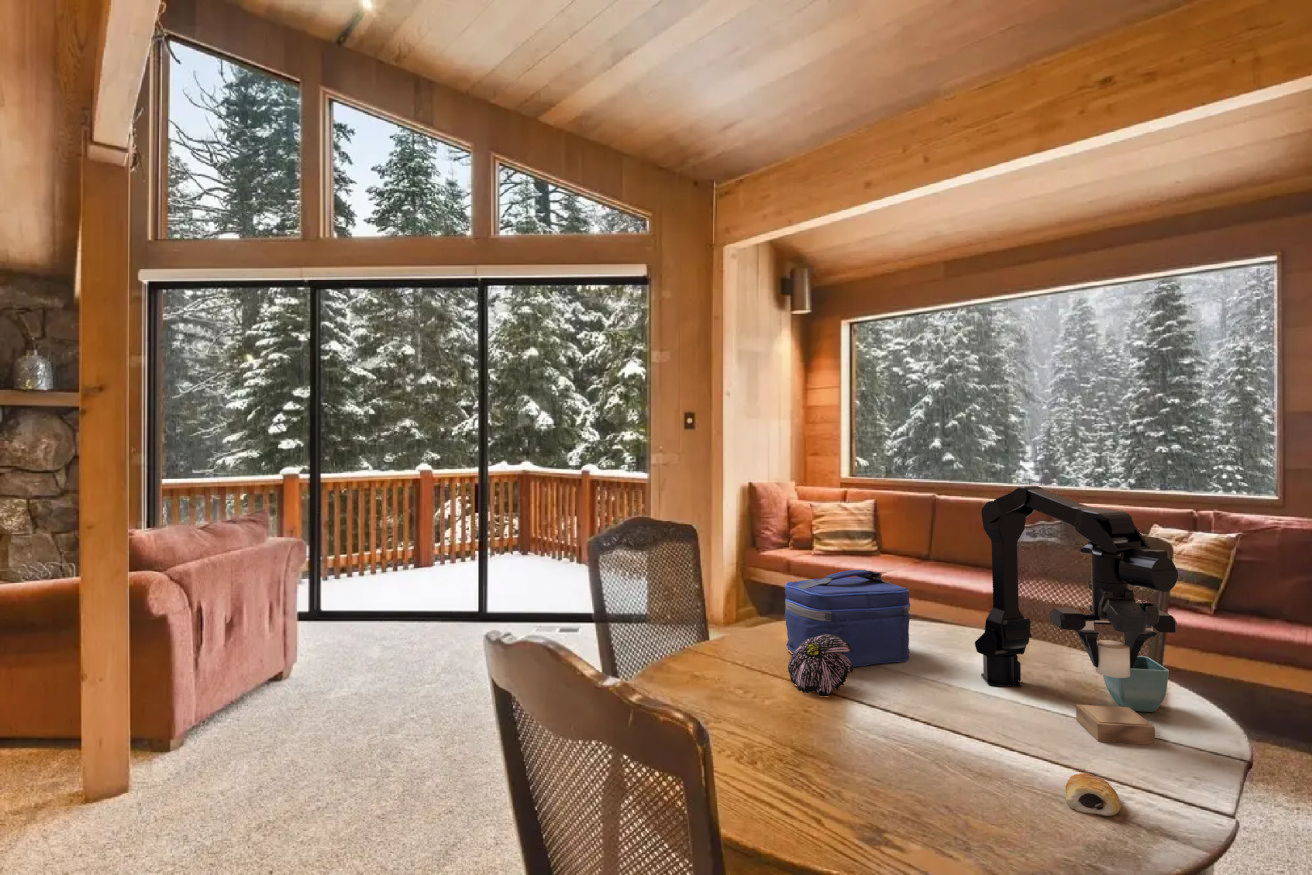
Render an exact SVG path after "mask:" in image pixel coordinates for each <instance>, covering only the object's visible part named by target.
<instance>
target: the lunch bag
mask: <svg viewBox="0 0 1312 875" xmlns="http://www.w3.org/2000/svg"><path fill="white" fill-rule="evenodd" d="M784 585H785V586H784V587H785V588H784V593H785V600H784V601H785V603H784V604H785V612H784V619H785V626H786V633H787V642H786V647H787V648H788V650H790V651H791V652H792V653H794V652H795V651H796V649H798V648H799V646H800V645H801V643H803V642H804V641H805V640H806V639H808V638H812V637H818V636H821V635H826V634H832V635H837V636H839V637H841V638H843V639H844V640H846V641H847V643H849V644H850V647H851V649H852V650H853V651H851V652H842V653H843V654H845V655H846V656H847V658H848V659H849V660H850V661H851V663H852V665H853V668H854V667H866V666H870V665H877V664H885V663H902V662H908V661H909V659H910V649H909V648H910V647H909V644H910V634H909V631H910V630H909V629H910V619H911V618H910V613H909V612H910V608H911V603H910V592H909V589H908V588H907V587H904V586H900V585H897V584H893V583H890V582H888V581H885V580H883V579H882V574H881V573H880V572H878V571H872V570H868V569H867V570H866V569H853V570H845V571H844V570H843V571H839V572H835V573H832V574H829V575H826V576H825V577H824V578H812V579H805V580H799V581H796V580H795V581H788V582H786V583H785V584H784ZM788 650H787V651H788Z"/></svg>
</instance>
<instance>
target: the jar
mask: <svg viewBox="0 0 1312 875" xmlns="http://www.w3.org/2000/svg"><path fill="white" fill-rule="evenodd" d="M1097 648H1098V658H1099V662H1098V667H1095V672H1096V673H1098V674H1100V675H1101V676H1103V675H1105V676H1109V677H1115V678H1127V677H1130V647H1129V646H1128V645H1126V644H1125V642H1122V641H1118V640H1113V639H1112V640H1110V639H1104V640H1103V639H1102V640H1101V639H1099V640H1097Z"/></svg>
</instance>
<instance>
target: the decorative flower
mask: <svg viewBox="0 0 1312 875" xmlns="http://www.w3.org/2000/svg"><path fill="white" fill-rule="evenodd" d="M851 651H853V650H852V649H851V647H850V644H849V643H847V641H846V640H844V639H843V638H841V637H839V636H837V635H832V634H826V635H821V636H818V637H812V638H808V639H806V640H805V641H804V642H803V643H801V645H800V646H799V648H798V649H796V651H795V652H794V653H793V655H792V654H791V656H790V658H789V661H788V665H787V670H788V673H789V677H790V682H791V683H792V684H793V683H794V684H796V685H797V691H798V690H799V691H798V692H802V693H803V694H805V693H807V694H808V693H809V692H810V693H813V692H815V694H818V697H819V696H829V697H830V696H831V695H832V692H833V688H834V689H836V690H837V691H838V690H839V688H840V687H841V686H844V685H845V682H847V680H846V679H847V678H848V676H849V674H853V672H854V667H853V665H852V663H851V661H850V660H849V659H848V658H847V656H846V655H845V654H843V653H842V652H851ZM794 684H793V685H794Z"/></svg>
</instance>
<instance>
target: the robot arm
mask: <svg viewBox="0 0 1312 875" xmlns="http://www.w3.org/2000/svg"><path fill="white" fill-rule="evenodd" d="M1036 511H1037V512H1038V513H1042V514H1044V515H1045V516H1047V517H1051V518H1053V519H1056V520H1058V521H1061V522H1062V523H1065V524H1067V525H1070V526H1072V527H1073V528H1074V529H1075V531H1076V532H1077V534H1079V536H1081V537H1083V538H1085V539H1086V540H1088V543H1087V544H1085V545H1084V546H1082V547H1081V548H1080V549H1079V551H1080V553H1081V554H1082V553H1084V554H1088V555H1090V563H1091V564H1090V566H1091V567H1090V568H1091V582H1088V589H1090V590H1091V602H1092V603H1091V604H1089V611H1090V612H1092V613H1085V612H1084V613H1083V612H1081V611H1080V610H1078V609H1076V608H1075V607H1053V608H1052V609H1051V610H1050V612H1049V622H1050V623H1051V624H1053V625H1054V626H1056V627H1057V628H1059V629H1061V630H1065V631H1066V630H1067V631H1074V632H1076V633H1077V635H1078V637H1079V638H1080V640H1081V642H1082V644H1083V646H1084V649H1085V650H1086V652H1087V654H1088V656H1089V659H1090V661H1091V663H1092V665H1093V667H1095V668H1096V667H1098V662H1099V658H1098V648H1097V642H1098V637H1099V634H1100V633H1099V632H1098V631H1096V630H1095V625H1106V626H1107V625H1109V626H1112V628H1113V629H1114V631H1116V632H1118V633H1123V636H1124V643H1125V644H1126V645H1128V646H1129V647H1130V669H1132V668H1133V666H1134V663H1135V661H1136V658H1137V656H1139V653H1140V651H1141V649H1142V647H1143V645H1144V644H1145V642H1146V641H1147V640H1149V639H1150V638H1152V637H1155V638H1156V637H1157V636H1158V633H1172V634H1174V633H1178V622H1177V620H1176V618H1175V617H1174V616H1173V615H1172V614H1170V613H1167V612H1165V611H1162V610H1161V609H1159V606H1158V605H1157V604H1156V603H1155V602H1137V601H1136V598H1135V593H1134V589H1132V588H1130V586H1133V587H1138V588H1143V589H1148V590H1153V591H1158V592H1163V593H1167V592H1170V591H1171V590H1173V588H1174V587H1176V584H1177V582H1178V579H1179V578H1178V576H1179V571H1178V569H1177V568H1176V565H1175V563H1174V562H1173V561H1172V559H1170V558H1169V557H1168V551H1167V550H1162V549H1151V547H1150V545H1149V544H1148V542H1147V541H1146V539H1145V538H1144V536H1143V535H1142V533H1140V531H1139V529H1138V528H1137V526H1136V525H1135V523H1134V521H1133V519H1132V516H1131V515H1130V514H1129V513H1128V512H1125V511H1123V510H1117V509H1113V508H1104V507H1103V508H1102V507H1094V506H1088V505H1085V504H1082V503H1080V502H1078V501H1075V500H1073V499H1069V498H1067V497H1064V496H1062V495H1059V494H1056V493H1054V492H1051V491H1048V490H1046V489H1044V488H1042V487H1040V486H1039V485H1026V486H1023V485H1022V486H1019V487H1017V488H1015V489H1014V490H1012V491H1011V492H1009V493H1007V494H1005V495H1002V496H1000V497H998V498H996V499H994V500H989V501H987V502H985V504H984V505H983V506H982V507H981V520H982V527H983V530H984V532H985V534H987V537H989V540H990V542H991V568H992V569H991V571H992V572H991V573H992V576H991V577H992V579H991V580H992V608H991V610H990V611H989V614H988V615H987V617H986V619H985V624H984V632H983V633H982V634H981V635H980V636H979V637H978V638H977V639H976V640H975V641H974V646H975V650H976V653H979V654H981V655H982V659H983V660H982V661H983V662H982V664H983V665H982V667H983V669H982V670H983V672H982V673H980V675H981V677H982V679H983V680H984V681H985V682H986V683H987V685H988V686H997V687H998V686H999V687H1020V688H1021V687H1022V684H1021V681H1022V677H1021V676H1022V672H1021V671H1022V670H1021V665H1022V664H1021V662H1020V661H1019V655H1025V654H1024V653H1025V651H1026V648H1027V646H1028V645H1029V642H1030V638H1032V633H1031V623H1032V622H1031V619H1030V618H1029V617H1027V618H1026V617H1025V616H1024V615H1023V613H1022V612H1021V610H1020V604H1019V603H1020V602H1019V600H1020V598H1019V564H1018V541H1019V539H1020V538H1021V536H1022V535H1023V533H1024V531H1025V528H1026V520H1027V518H1028V517H1030V516H1031V515H1033V514H1034V513H1035V512H1036ZM1154 630H1155V631H1156V632H1155V631H1154Z"/></svg>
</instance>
